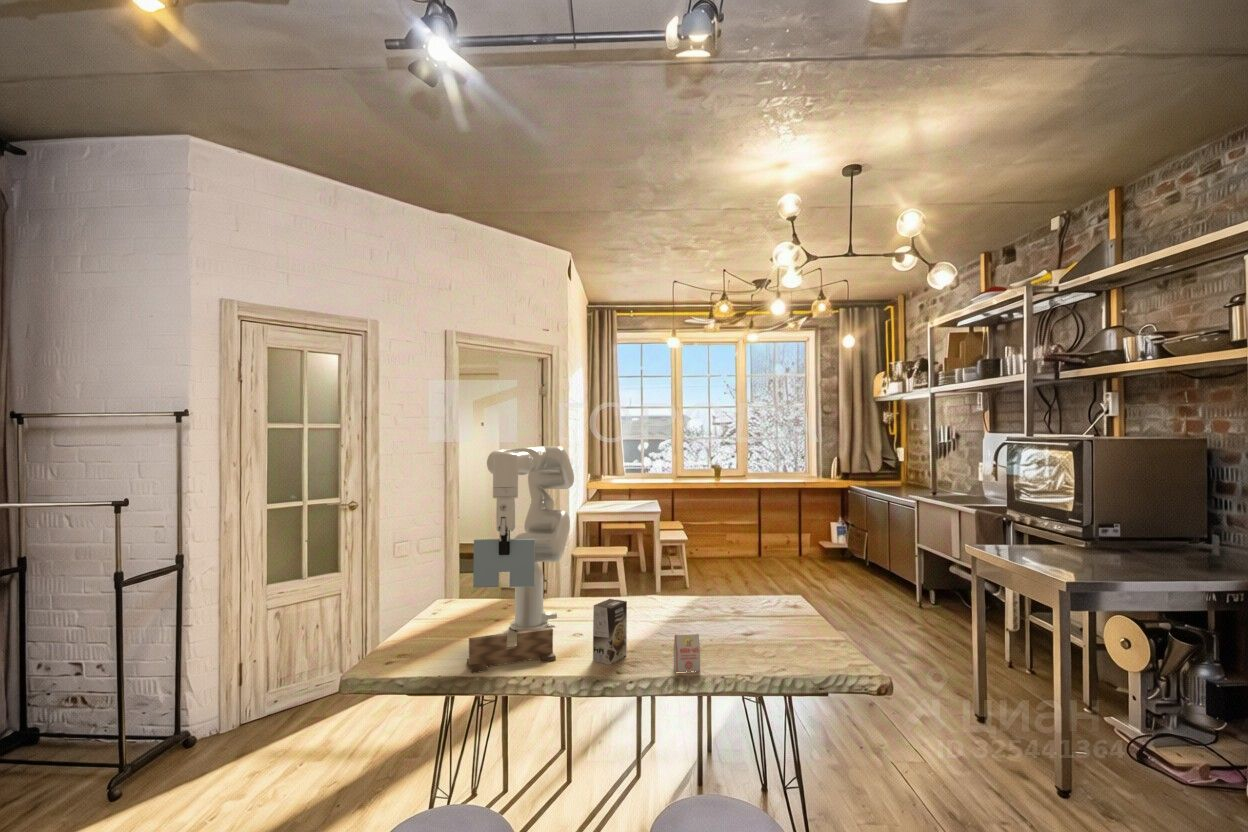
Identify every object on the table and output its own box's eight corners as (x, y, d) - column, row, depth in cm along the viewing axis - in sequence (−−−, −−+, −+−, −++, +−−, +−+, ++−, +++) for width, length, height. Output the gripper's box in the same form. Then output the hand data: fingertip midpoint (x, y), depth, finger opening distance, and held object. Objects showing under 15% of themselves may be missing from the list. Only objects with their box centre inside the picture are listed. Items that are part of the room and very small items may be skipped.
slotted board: (547, 650, 185) (547, 624, 185) (555, 660, 177) (555, 632, 178) (466, 663, 175) (467, 634, 175) (471, 673, 168) (472, 643, 168)
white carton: (673, 668, 171) (673, 632, 172) (697, 667, 172) (697, 631, 172) (675, 673, 168) (675, 636, 168) (700, 672, 168) (700, 636, 169)
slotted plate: (534, 584, 187) (534, 538, 187) (534, 586, 185) (534, 539, 185) (474, 586, 185) (474, 539, 185) (473, 587, 183) (473, 540, 183)
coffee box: (610, 665, 173) (610, 608, 174) (592, 661, 177) (592, 604, 177) (627, 655, 181) (627, 600, 182) (609, 651, 184) (609, 597, 185)
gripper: (515, 495, 178) (515, 558, 177) (519, 490, 194) (519, 549, 193) (489, 495, 178) (488, 559, 177) (495, 490, 193) (494, 549, 193)
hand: (504, 553), depth 185 cm, fingers closed on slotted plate, 2 cm apart
